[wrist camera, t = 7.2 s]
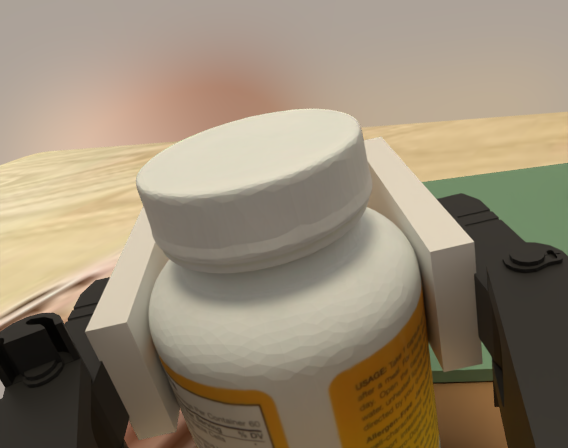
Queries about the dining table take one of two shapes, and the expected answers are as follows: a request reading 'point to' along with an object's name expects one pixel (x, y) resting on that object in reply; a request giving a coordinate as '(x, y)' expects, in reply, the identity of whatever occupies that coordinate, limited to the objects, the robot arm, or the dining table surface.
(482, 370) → the putting mat
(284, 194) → the supplement bottle
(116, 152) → the dining table surface
